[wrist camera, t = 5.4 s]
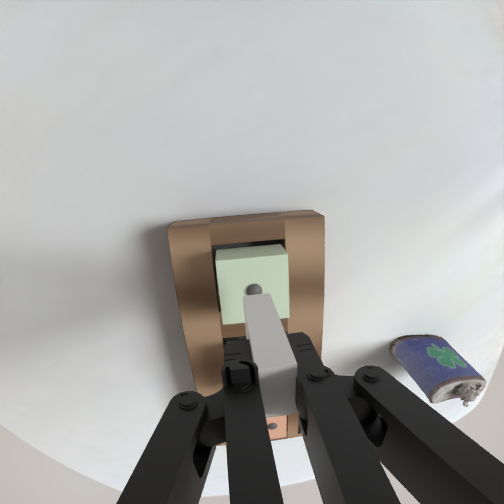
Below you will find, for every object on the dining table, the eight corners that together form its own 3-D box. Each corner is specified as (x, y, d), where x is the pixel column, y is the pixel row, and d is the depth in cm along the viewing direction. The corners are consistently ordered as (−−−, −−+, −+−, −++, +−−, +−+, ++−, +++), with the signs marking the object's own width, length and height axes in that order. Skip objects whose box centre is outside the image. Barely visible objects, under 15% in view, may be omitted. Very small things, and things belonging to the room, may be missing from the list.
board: (173, 221, 23) (167, 229, 20) (312, 209, 24) (324, 216, 21) (211, 426, 30) (211, 445, 27) (307, 415, 30) (314, 433, 27)
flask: (385, 354, 29) (436, 418, 19) (396, 331, 28) (453, 392, 18) (439, 355, 30) (488, 406, 20) (449, 335, 30) (503, 383, 19)
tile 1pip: (216, 249, 21) (215, 261, 18) (280, 243, 21) (288, 254, 19) (222, 308, 22) (223, 325, 20) (282, 301, 22) (289, 318, 20)
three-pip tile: (235, 396, 26) (236, 415, 24) (281, 391, 27) (286, 409, 24) (239, 425, 28) (241, 443, 25) (282, 420, 28) (286, 438, 26)
